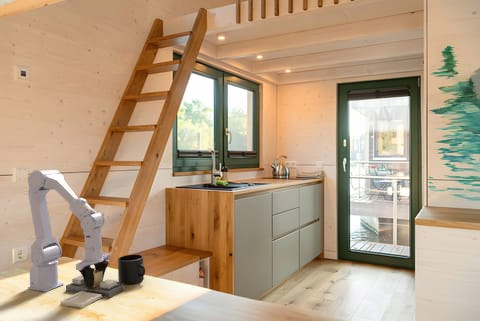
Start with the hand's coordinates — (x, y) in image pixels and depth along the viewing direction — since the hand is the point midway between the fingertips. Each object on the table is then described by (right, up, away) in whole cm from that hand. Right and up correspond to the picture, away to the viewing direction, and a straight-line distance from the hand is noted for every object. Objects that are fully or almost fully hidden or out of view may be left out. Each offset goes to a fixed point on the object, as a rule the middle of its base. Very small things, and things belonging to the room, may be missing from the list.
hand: (94, 284), depth 132 cm
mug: (+11, -2, +9) cm, 15 cm away
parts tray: (-1, -3, -9) cm, 10 cm away
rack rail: (0, -2, 0) cm, 2 cm away
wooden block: (0, -3, 0) cm, 2 cm away
